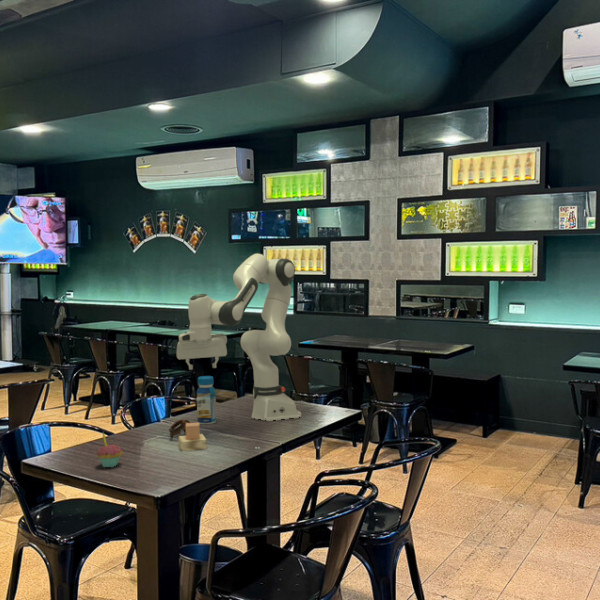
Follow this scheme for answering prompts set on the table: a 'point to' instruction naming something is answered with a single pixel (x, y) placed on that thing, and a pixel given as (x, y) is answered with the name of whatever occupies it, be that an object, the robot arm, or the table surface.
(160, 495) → the table surface
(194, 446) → the beech block
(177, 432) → the brown rounded piece
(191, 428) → the terracotta cube
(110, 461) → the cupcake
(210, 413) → the vitamin bottle
